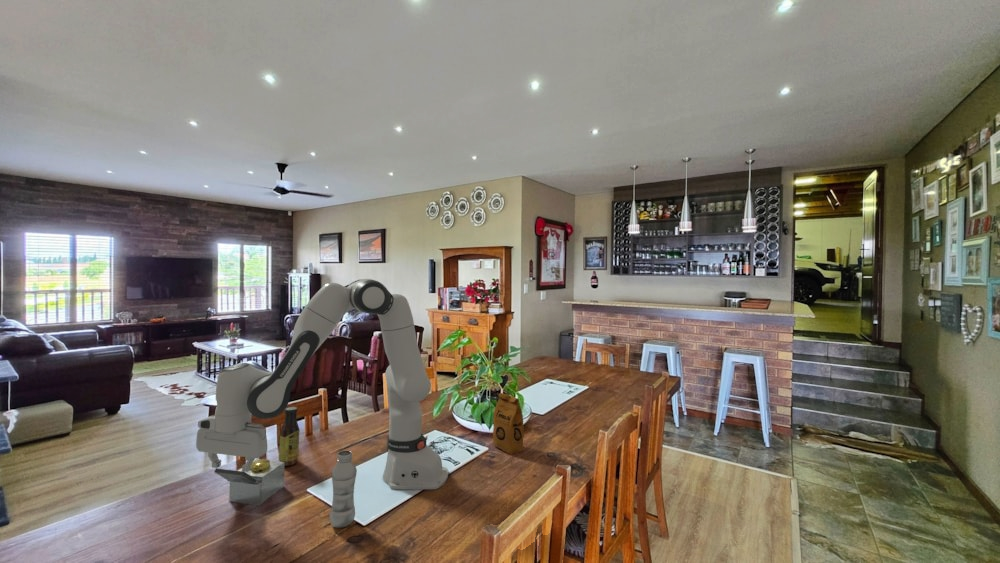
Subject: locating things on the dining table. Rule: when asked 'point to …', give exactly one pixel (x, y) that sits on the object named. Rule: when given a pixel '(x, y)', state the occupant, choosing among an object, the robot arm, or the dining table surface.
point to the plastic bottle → (343, 490)
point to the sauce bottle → (289, 438)
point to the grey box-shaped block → (259, 485)
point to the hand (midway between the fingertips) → (231, 468)
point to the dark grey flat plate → (236, 476)
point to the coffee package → (508, 425)
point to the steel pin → (260, 465)
